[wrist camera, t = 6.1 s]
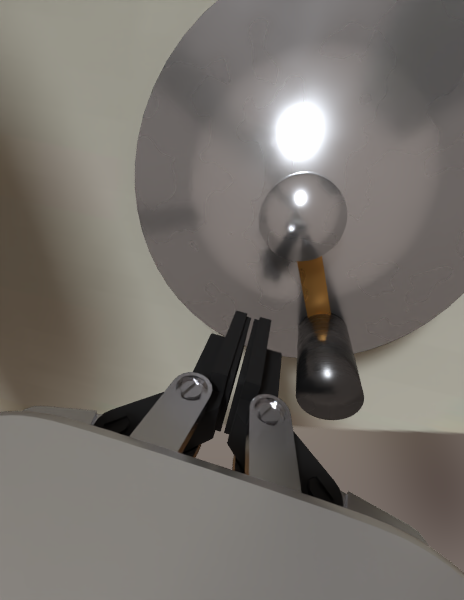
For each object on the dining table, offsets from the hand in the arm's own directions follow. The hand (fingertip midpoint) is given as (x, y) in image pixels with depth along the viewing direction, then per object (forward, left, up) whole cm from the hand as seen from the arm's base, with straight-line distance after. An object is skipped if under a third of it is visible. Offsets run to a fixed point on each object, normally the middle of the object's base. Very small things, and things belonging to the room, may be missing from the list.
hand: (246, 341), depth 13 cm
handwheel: (+1, +6, -3) cm, 6 cm away
